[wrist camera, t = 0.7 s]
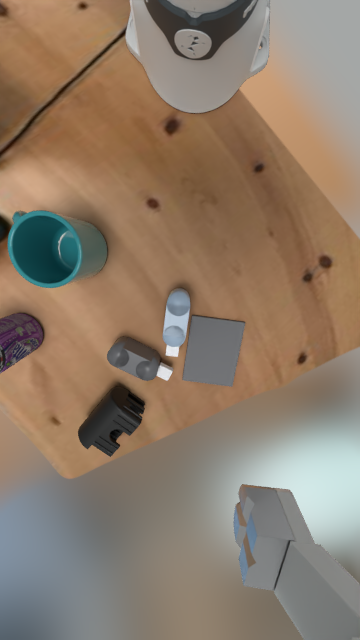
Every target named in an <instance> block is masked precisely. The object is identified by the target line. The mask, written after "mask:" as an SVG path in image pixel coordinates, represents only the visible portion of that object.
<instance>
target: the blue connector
mask: <svg viewBox="0 0 360 640" xmlns="http://www.w3.org/2000/svg"><path fill="white" fill-rule="evenodd" d="M189 311H190V296H189V294H188V292H187V291H186V290H184V289H182V288H177V289H174V290H173V291H172V292H171V293H170V295H169V298H168V301H167V306H166V314H165V322H164V331H163V339H164V342H165V343H166V344H167V348H166V355H168V356H175V357H178V351H179V346H180V345H182V344H183V343H184V341H185V338H186V331H187V324H188V318H189Z"/></svg>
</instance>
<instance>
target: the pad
mask: <svg viewBox="0 0 360 640" xmlns="http://www.w3.org/2000/svg"><path fill="white" fill-rule="evenodd" d="M244 326H245V322H241V321H233V320H226V319H218V318H211V317H203V316H196V315H192V318H191V325H190V332H189V339H188V345H187V352H186V359H185V365H184V372H183V380H185V381H193V382H201V383H208V384H216V385H224V386H231V387H232V385H233V380H234V375H235V370H236V365H237V361H238V356H239V351H240V346H241V341H242V336H243V331H244Z"/></svg>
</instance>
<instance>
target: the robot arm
mask: <svg viewBox="0 0 360 640" xmlns="http://www.w3.org/2000/svg"><path fill="white" fill-rule="evenodd" d="M130 6H131V13H130V17H129V21H128V26H127V30H126V43H127V47H128V49H129V50H130V52H131V53H132V54H133V55H134V56H135V57H136V58H137V59H138V60H139V61H140V62H141V63H142V65H143V66H144V68H145V70H146V73H147V75H148V77H149V80H150V82H151V84H152V86H153V87H154V89H155V90H156V92H157V93H158V94H159V96H160V97H161V98H162V99H163V100H164V101H166V102H167V103H168V104H169V105H171V106H173V107H174V108H176V109H178V110H181V111H184V112H189V113H203V112H207V111H211V110H213V109H216V108H218V107H220V106H221V105H223V104H224V103H226V102H227V101H228V100H229V99H230V98H231V97H232V96H233V95H234V94H235V93H236V92H237V90H238V89H239V88H240V86H241V85H242V84H243V83H244V82H245V81H246V79H248V78H250V77H251V76H253V75H255V74H257V73H258V72H260V71H261V70H262V69H263V68H264V67H265V65H266V64H267V61H268V57H269V24H270V22H269V21H270V0H130ZM259 46H261V47H262V48H261V49H259ZM239 499H240V502H239V503H238V504H237V505H236V506H235V512H234V534H235V540H236V542H237V544H238V545H239V547H240V548H241V551H240V555H239V563H240V569H241V574H242V580H243V585H244V586H247V587H254V588H260V589H267V590H274V593H275V595H276V596H277V598H278V600H279V601H280V603H281V604H282V606H283V607H284V609H285V611H286V612H287V614H288V615H289V617H290V618H291V620H292V621H293V623H294V625H295V626H296V628H297V629H298V631H299V632H300V634H301V636H302V637H303V639H304V640H360V584H359V583H358V582H357V581H356V580H355V579H354V578H353V577H352V576H351V575H350V574H349V573H348V572H347V571H346V570H345V569H344V568H343V567H342V566H341V565H340V564H339V563H338V562H337V561H336V560H335V559H334V558H333V557H332V556H331V555H330V554H329V553H328V552H327V551H326V550H325V549H324V548H323V547H322V546H321V545H318V544H315V543H314V540H313V538H312V536H311V534H310V532H309V529H308V527H307V525H306V523H305V520H304V518H303V516H302V514H301V512H300V509H299V507H298V505H297V503H296V500H295V498H294V496H293V494H292V492H291V491H290V490H288V489H279V488H270V487H261V486H253V485H244V484H242V485H241V487H240V490H239Z"/></svg>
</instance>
